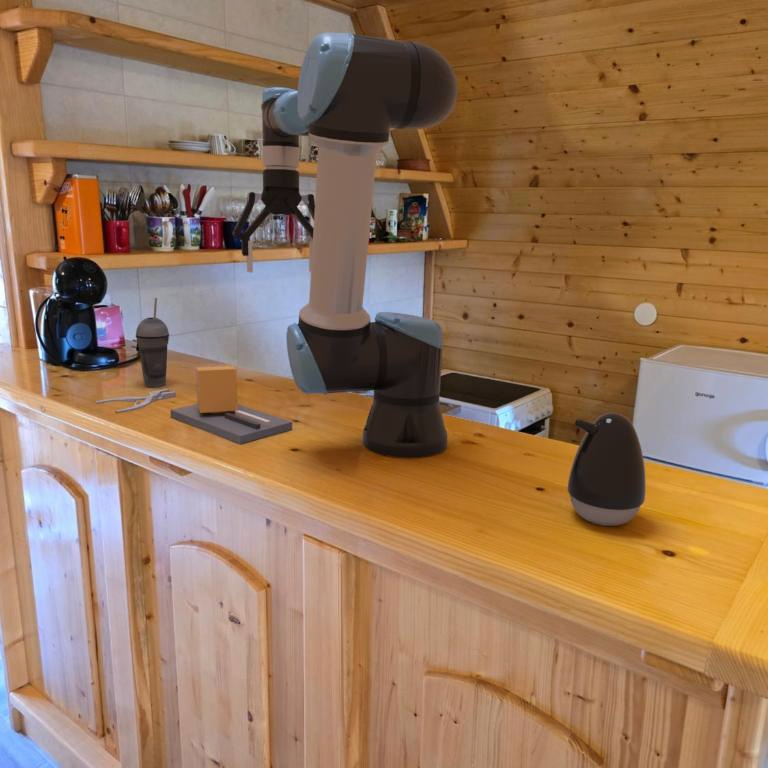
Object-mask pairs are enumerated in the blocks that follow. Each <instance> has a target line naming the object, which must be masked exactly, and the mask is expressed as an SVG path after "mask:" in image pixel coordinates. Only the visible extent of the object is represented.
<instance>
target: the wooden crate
mask: <svg viewBox="0 0 768 768" xmlns="http://www.w3.org/2000/svg"><path fill="white" fill-rule="evenodd" d="M195 377H196V397H197V398H196V401H197V403H196V404H198V409H199V412H200V413H208V412H224V411H238V404H239V403H238V383H237V381H238V380H237V379H238V377H237V369H236V368H235V367H234V366H233V365H226V366H225V365H224V366H201V367H200V366H197V367H196V366H195Z"/></svg>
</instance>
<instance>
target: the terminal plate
mask: <svg viewBox="0 0 768 768" xmlns="http://www.w3.org/2000/svg"><path fill="white" fill-rule="evenodd" d="M170 418H172V419H174V420H178V421H180V422H182V423H185V424H187V425H190V426H192V427H195V428H198V429H201V430H203V431H205V432H208V433H211V434H213V435H216V436H218V437H220V438H221V437H222V438H224V439H226V440H228V441H232V442H234V443H237V444H239V445H242V444H245V443H246V444H247V443H249V442H254V441H257V440H259V439H264V438H268V437H270V436H275V435H278V434H282V433H285V432H288V431H292V430H293V421H290V420H287V419H284V418H282V417H278V416H275V415H273V414H269V413H266V412H263V411H260V410H258V409H254V408H251V407H248V406H245V405H241V404H239V403H238V411H224V412H208V413H200V412H199V409H198V403H195V404H191V405H185V406H182V407H177V408H173V409H170Z"/></svg>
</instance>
